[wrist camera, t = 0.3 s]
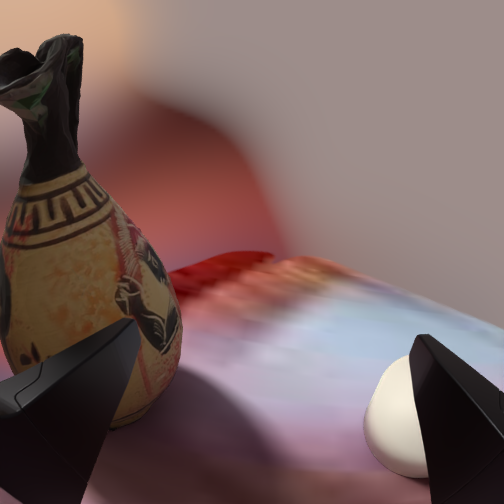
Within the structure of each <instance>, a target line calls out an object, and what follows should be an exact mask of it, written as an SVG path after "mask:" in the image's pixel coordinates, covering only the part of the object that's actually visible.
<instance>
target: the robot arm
mask: <svg viewBox="0 0 504 504" xmlns="http://www.w3.org/2000/svg"><path fill="white" fill-rule="evenodd" d="M140 345H141V336H140V332H139V328H138V325H137V321H136V320H135V319H133V318H127V317H124V318H122V319H120V320H118V321H116V322H114V323H112V324H110V325H109V326H107V327H105V328H103V329H101V330H99V331H98V332H96V333H94V334H92V335H90V336H88V337H86V338H85V339H83V340H81V341H79V342H77V343H75V344H74V345H72V346H70V347H68V348H66V349H64V350H63V351H61V352H59V353H57V354H55V355H53V356H51V357H50V358H48V359H46V360H44V361H43V362H40V363H39V364H37V365H35V366H33V367H31V368H29V369H27V370H25V371H23V372H21V373H19V374H17V375H15V376H13V377H11V378H8V379H6V380H4V381H1V382H0V504H81V501H82V498H83V495H84V493H85V490H86V487H87V483H88V481H89V478H90V476H91V473H92V470H93V468H94V465H95V463H96V460H97V457H98V455H99V452H100V450H101V447H102V445H103V442H104V440H105V437H106V435H107V432H108V430H109V427H110V425H111V423H112V420H113V418H114V415H115V413H116V411H117V408H118V406H119V404H120V401H121V399H122V397H123V394H124V392H125V390H126V387H127V385H128V383H129V380H130V377H131V374H132V371H133V367H134V364H135V361H136V358H137V355H138V352H139V349H140ZM409 365H410V372H411V380H412V388H413V396H414V402H415V407H416V411H417V416H418V420H419V425H420V430H421V435H422V441H423V446H424V452H425V458H426V464H427V471H428V478H429V485H430V494H431V503H432V504H504V393H503V392H502V391H499V389H498V388H497V387H496V386H495V385H493V384H492V383H491V382H490V381H488V380H487V379H486V378H485V377H483V376H482V375H481V374H480V373H478V372H477V371H476V370H475V369H473V368H472V367H471V366H470V365H468V364H467V363H466V362H465V361H463V360H462V359H461V358H459V357H458V356H457V355H456V354H454V353H453V352H452V351H450V350H449V349H448V348H446V347H445V346H444V345H443V344H441V343H440V342H439V341H437V340H436V339H435V338H433V337H432V336H431V335H429V334H419V335H417V336H416V338H415V340H414V343H413V346H412V348H411V351H410V354H409Z"/></svg>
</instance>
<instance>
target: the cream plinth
mask: <svg viewBox="0 0 504 504" xmlns="http://www.w3.org/2000/svg"><path fill="white" fill-rule="evenodd" d="M364 435H365V439H366V442H367V444H368V446H369V449H370V450H371V452H372V453H373V455H374V456H375V457H376V459H377V460H378V461H379V462H380V463H381V464H382V465H384V466H385V467H386V468H388V469H389V470H391V471H393V472H395V473H397V474H400V475H403V476H406V477H412V478H426V477H428V471H427V464H426V458H425V452H424V446H423V441H422V435H421V430H420V425H419V420H418V416H417V411H416V407H415V402H414V396H413V388H412V380H411V372H410V365H409V355H407V356H404V357H402V358H400V359H398V360H397V361H395V362H394V363H393V364H391V365H390V366H389V367H388V368H387V370H386V371H385V372H384V374H383V375H382V377H381V379H380V382H379V384H378V386H377V388H376V390H375V393H374V395H373V397H372V399H371V401H370V403H369V405H368V407H367V409H366V412H365V416H364Z"/></svg>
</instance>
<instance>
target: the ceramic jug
mask: <svg viewBox="0 0 504 504" xmlns="http://www.w3.org/2000/svg"><path fill="white" fill-rule="evenodd" d="M82 65H83V39H82V38H81V37H78V36H76V35H74V36H73V35H70V34H60V35H57V36H55V37H53V38H51V39H48V40H46V41H44V42H43V43H42V44H41V45H40V47H39V49H38V51H37V53H36V56H35V57H34V55H32V54H31V53H30V52H28V51H22V50H21V49H19V48H14V49H10V50H9V51H7V52H5V53H4V54H2V55H1V56H0V105H2V106H4V107H6V108H8V109H10V110H11V111H13V112H15V113H16V114H17V115H18V116H19V117H20V118H22V121H23V125H24V133H25V138H26V142H27V151H28V153H27V158H26V161H25V163H24V168H23V171H22V174H21V177H20V181H19V190H18V193H17V195H16V197H15V199H14V202H13V205H12V207H11V210H10V212H9V215H8V217H7V221H6V227H5V230H4V234H3V238H2V241H1V244H0V340H1V344H2V347H3V350H4V354H5V356H6V359H7V361H8V363H9V365H10V368H11V370H12V372H13V374H14V375H17V374H19V373H21V372H23V371H25V370H27V369H29V368H31V367H33V366H35V365H37V364H39V363H40V362H43V361H44V360H46V359H48V358H50V357H51V356H53V355H55V354H57V353H59V352H61V351H63V350H64V349H66V348H68V347H70V346H72V345H74V344H75V343H77V342H79V341H81V340H83V339H85V338H86V337H88V336H90V335H92V334H94V333H96V332H98V331H99V330H101V329H103V328H105V327H107V326H109V325H110V324H112V323H114V322H116V321H118V320H120V319H122V318H124V317H127V318H133V319H135V320H136V321H137V325H138V328H139V332H140V336H141V345H140V349H139V352H138V355H137V358H136V361H135V364H134V367H133V371H132V374H131V377H130V380H129V383H128V385H127V387H126V390H125V392H124V394H123V397H122V399H121V401H120V404H119V406H118V408H117V411H116V413H115V415H114V418H113V420H112V423H111V425H110V427H109V430H112V431H114V430H115V429H117V428H119V427H121V426H123V425H128V424H130V423H132V422H134V421H136V420H138V419H140V418H141V417H142V416H143V415H144V414H145V413H146V412H147V411H148V410H149V408H150V407H151V405H152V404H153V403H154V402H155V401H156V400H157V399H158V398H159V397H160V396H161V394H162V393H163V392H164V391H165V390H166V389H167V387H168V386H169V384H170V382H171V381H172V379H173V377H174V375H175V372H176V370H177V367H178V363H179V359H180V355H181V343H182V332H183V326H182V319H181V310H180V307H179V303H178V300H177V298H176V294H175V291H174V288H173V286H172V283H171V279H170V277H169V275H168V274H167V272H166V270H165V268H164V266H163V263H162V262H161V260H160V258H159V257H158V255H157V253H156V251H155V250H154V248H153V247H152V245H151V244H150V243H149V241H148V240H147V239H146V237H145V236H144V235H143V234H142V232H141V230H140V229H139V228H138V227H136V225H135V224H134V222H133V221H132V220H131V219H130V218H129V217H128V216H127V215H126V214H125V212H124V211H123V210H122V209H121V207H120V206H119V205H118V204H117V203H116V202H115V201H114V200H113V198H112V197H111V196H110V195H109V194H108V193H107V192H106V191H105V190H104V189H103V188H102V187H101V186H100V185H99V184H98V183H97V182H96V181H95V179H94V178H93V177H92V176H91V175H90V174H89V173H88V172H87V170H86V167H85V164H84V163H83V162H82V161H80V158H79V156H78V154H77V151H78V142H77V128H78V124H79V99H80V96H81V95H80V88H81V81H82Z"/></svg>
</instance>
